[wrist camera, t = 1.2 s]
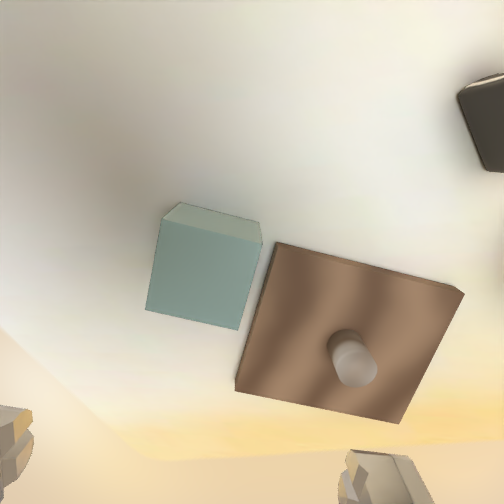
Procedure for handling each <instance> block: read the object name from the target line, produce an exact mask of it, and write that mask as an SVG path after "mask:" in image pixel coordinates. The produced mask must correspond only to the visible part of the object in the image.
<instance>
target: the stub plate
mask: <svg viewBox="0 0 504 504" xmlns="http://www.w3.org/2000/svg"><path fill="white" fill-rule="evenodd" d="M464 295H465V294H464V293H463V292H461V291H460V290H458V289H457V288H456V287H454V286H450V285H446V284H442V283H438V282H434V281H430V280H426V279H422V278H418V277H414V276H410V275H406V274H402V273H398V272H394V271H390V270H387V269H383V268H379V267H375V266H371V265H367V264H363V263H359V262H355V261H351V260H347V259H343V258H339V257H335V256H331V255H327V254H323V253H319V252H315V251H311V250H307V249H303V248H299V247H295V246H291V245H287V244H283V243H279V242H276V245H275V248H274V252H273V255H272V258H271V262H270V265H269V268H268V272H267V275H266V278H265V282H264V285H263V288H262V292H261V295H260V299H259V302H258V305H257V309H256V312H255V315H254V319H253V322H252V325H251V329H250V332H249V335H248V339H247V342H246V345H245V349H244V352H243V355H242V359H241V362H240V366H239V369H238V372H237V376H236V379H235V391H237V392H242V393H247V394H252V395H257V396H262V397H266V398H271V399H276V400H281V401H286V402H291V403H296V404H301V405H306V406H311V407H316V408H321V409H326V410H331V411H335V412H340V413H345V414H350V415H355V416H360V417H365V418H370V419H375V420H380V421H385V422H390V423H395V424H399V423H400V421H401V419H402V417H403V415H404V413H405V411H406V409H407V407H408V405H409V403H410V401H411V399H412V397H413V395H414V393H415V391H416V389H417V388H418V386H419V384H420V382H421V380H422V378H423V376H424V374H425V372H426V370H427V368H428V366H429V364H430V362H431V360H432V358H433V356H434V354H435V352H436V350H437V348H438V346H439V344H440V342H441V340H442V338H443V336H444V334H445V332H446V330H447V328H448V326H449V324H450V322H451V320H452V318H453V316H454V314H455V312H456V310H457V308H458V306H459V305H460V303H461V301H462V299H463V297H464Z"/></svg>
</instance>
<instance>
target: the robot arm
mask: <svg viewBox="0 0 504 504" xmlns="http://www.w3.org/2000/svg"><path fill="white" fill-rule="evenodd" d="M32 422H33V419H32V411H30V410H28V409H23V408H16V407H10V406H3V405H0V502H1V501H2V500H3V498H4V497H3V496H4V487H6V486H7V485H9V484H10V483H12V482H14V481H15V480H17V479H18V477H19V476H20V475H21V473H22V472H23V470H24V469H25V467H26V465H27V463H28V461H29V459H30V456H31V454H32V450H33V445H34V437H33V435H32V433H31V432H30V431H29V430H28V429H27V428H28V427H29V426H30V424H31V423H32ZM345 462H346V465H347V469H346V470H345V471H344V472H343V473H341V476H340V480H339V484H338V500H339V504H435V503H434V501H433V499H432V497H431V495H430V493H429V492H428V490H427V488H426V486H425V484H424V482H423V480H422V478H421V476H420V475H419V472H418V471H417V469H416V467H415V465H414V463H413V461H412V460H411V459H410V458H409V457H408V456H404V455H395V454H386V453H378V452H370V451H361V450H352V449H350V451H349V452H348V453H347V456H346V459H345Z"/></svg>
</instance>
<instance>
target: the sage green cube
mask: <svg viewBox="0 0 504 504" xmlns="http://www.w3.org/2000/svg"><path fill="white" fill-rule="evenodd" d="M262 245H263V243H262V237H261V231H260V225H259V222H255V221H251V220H247V219H243V218H239V217H235V216H231V215H227V214H224V213H220V212H216V211H212V210H208V209H204V208H200V207H196V206H192V205H188V204H184V203H179V204H178V205H177V206H176V207H175V208H173V209H172V210H171V211H170V212H169V213H168V214H167V215H165V216H164V217H163V218H162V220H161V225H160V231H159V236H158V241H157V247H156V252H155V258H154V263H153V269H152V274H151V280H150V285H149V290H148V296H147V301H146V307H145V310H148V311H152V312H157V313H161V314H166V315H170V316H175V317H179V318H184V319H188V320H193V321H197V322H202V323H206V324H211V325H215V326H220V327H224V328H229V329H233V330H238V329H239V325H240V322H241V318H242V315H243V311H244V308H245V304H246V301H247V297H248V294H249V290H250V287H251V283H252V280H253V276H254V273H255V269H256V266H257V262H258V259H259V255H260V252H261V248H262Z"/></svg>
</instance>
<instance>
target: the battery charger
mask: <svg viewBox="0 0 504 504" xmlns="http://www.w3.org/2000/svg"><path fill="white" fill-rule="evenodd" d="M458 97H459V100H460V103H461V106H462V109H463V111H464V114H465V117H466V120H467V122H468V125H469V128H470V130H471V133H472V135H473V138H474V140H475V143H476V146H477V148H478V151H479V153H480V156H481V158H482V160H483V163H484V165H485V168H486V170H487V171H489V172H500V173H504V73H502V74H499V73H498V74H495V75H492V76H488V77H486V78H483V79H480V80H479V81H477V82H475V83H472V84H470V85H468V86H467V87H465V89H464V90H462V91H461V92H460V93H459V96H458Z"/></svg>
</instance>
